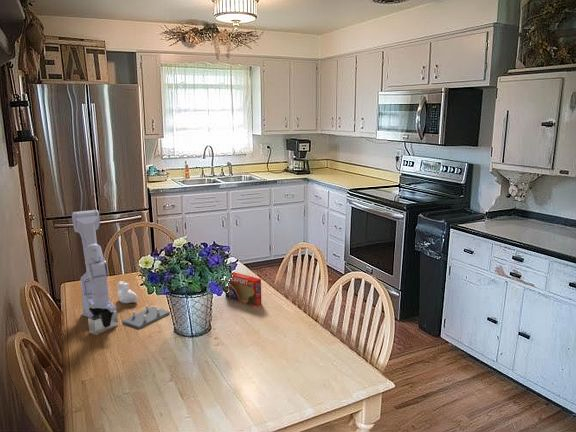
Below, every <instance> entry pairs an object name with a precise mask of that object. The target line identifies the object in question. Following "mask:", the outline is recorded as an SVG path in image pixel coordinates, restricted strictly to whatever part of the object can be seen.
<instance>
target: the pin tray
mask: <svg viewBox="0 0 576 432" xmlns="http://www.w3.org/2000/svg"><path fill="white" fill-rule="evenodd" d="M131 313H132V314H131V315H132V316H129V317H128V318H125V319H123V320H122V321H121V322H122V324H124V325H127V326H129V327H132V328H135V329H138V330H140V329H142V328H144V327H146V326H149V325H150V324H152V323H154V322H156V321H158V320H160V319H163V318H164V317H167V316H168V315H170V314H171V313H170V311H169V310H165V309H163V308H160V307H159V308H158V307H155V306H151V307H150V306H149V305H148V304H146V305H145V310H143V311H141V312H139V313H136V311H135V310H133V311H132V312H131Z"/></svg>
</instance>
